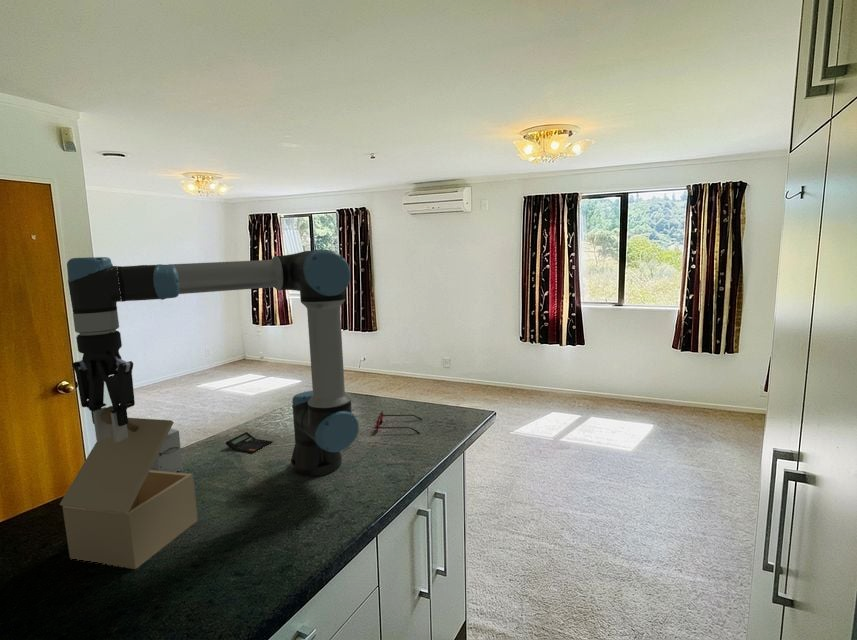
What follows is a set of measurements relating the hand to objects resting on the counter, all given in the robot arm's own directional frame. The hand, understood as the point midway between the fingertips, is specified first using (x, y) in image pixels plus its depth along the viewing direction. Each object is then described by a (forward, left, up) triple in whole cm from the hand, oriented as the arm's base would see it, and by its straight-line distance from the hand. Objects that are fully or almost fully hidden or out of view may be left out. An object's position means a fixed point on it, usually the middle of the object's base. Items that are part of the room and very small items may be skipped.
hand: (112, 438), depth 99 cm
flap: (0, -1, -6) cm, 6 cm away
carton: (0, -3, -25) cm, 25 cm away
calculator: (+7, -55, -26) cm, 61 cm away
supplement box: (+21, -33, -25) cm, 47 cm away
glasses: (-39, -80, -26) cm, 93 cm away
